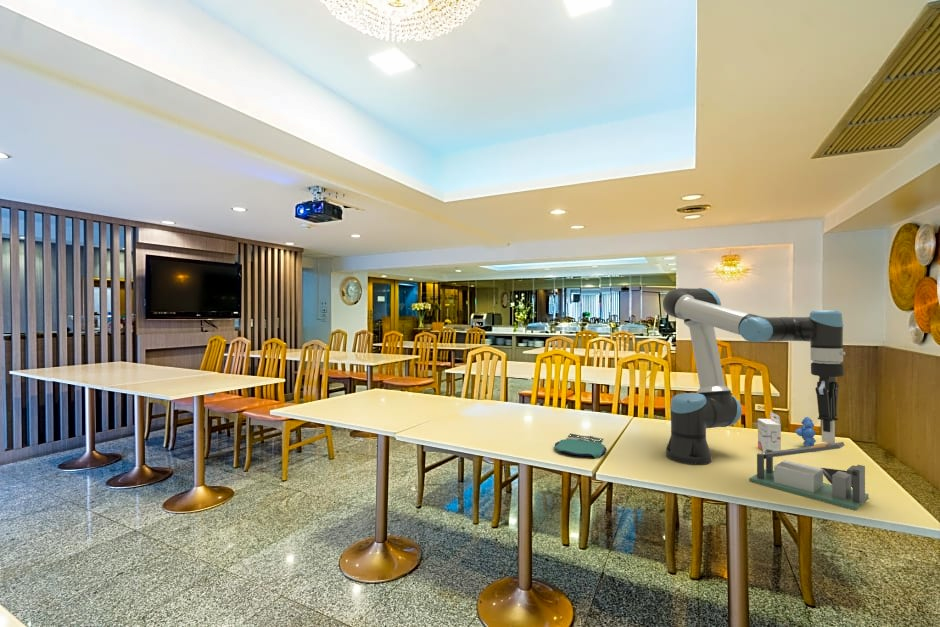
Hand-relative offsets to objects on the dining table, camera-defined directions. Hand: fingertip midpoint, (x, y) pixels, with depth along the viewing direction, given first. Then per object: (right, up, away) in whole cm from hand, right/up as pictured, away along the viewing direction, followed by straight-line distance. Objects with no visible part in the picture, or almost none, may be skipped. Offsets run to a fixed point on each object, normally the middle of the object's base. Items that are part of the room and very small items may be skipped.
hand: (828, 442), depth 129 cm
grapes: (+28, -16, +46) cm, 56 cm away
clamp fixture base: (-3, -16, +4) cm, 16 cm away
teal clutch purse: (-60, -16, +47) cm, 78 cm away
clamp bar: (-4, -5, +5) cm, 8 cm away
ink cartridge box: (+11, -16, +41) cm, 45 cm away
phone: (+14, -16, +13) cm, 25 cm away
